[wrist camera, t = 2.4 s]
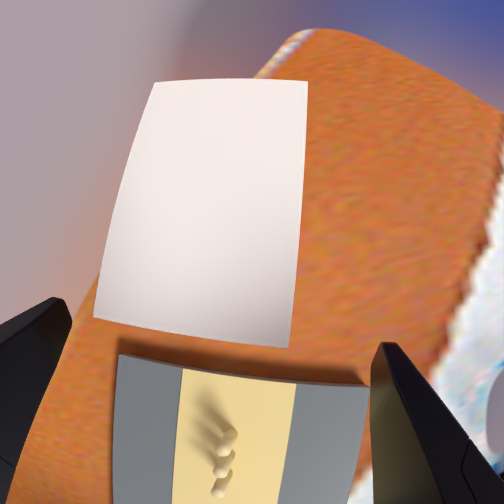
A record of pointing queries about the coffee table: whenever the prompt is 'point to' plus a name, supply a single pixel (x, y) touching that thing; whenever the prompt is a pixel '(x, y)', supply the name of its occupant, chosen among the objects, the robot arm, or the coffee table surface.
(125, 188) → the panel
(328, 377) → the coffee table surface
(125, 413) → the board
